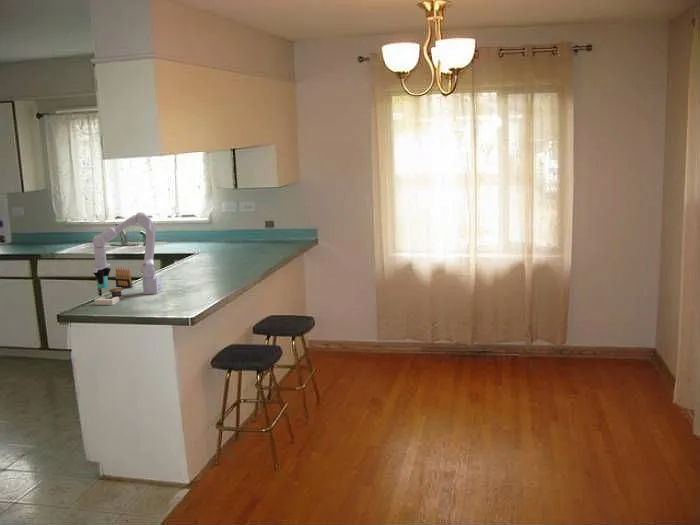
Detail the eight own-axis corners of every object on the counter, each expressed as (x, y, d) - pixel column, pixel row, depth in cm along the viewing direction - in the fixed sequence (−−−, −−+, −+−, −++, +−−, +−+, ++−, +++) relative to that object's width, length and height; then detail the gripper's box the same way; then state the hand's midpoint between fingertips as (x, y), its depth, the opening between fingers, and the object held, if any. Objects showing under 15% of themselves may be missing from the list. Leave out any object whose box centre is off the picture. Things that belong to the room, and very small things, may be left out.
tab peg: (108, 286, 374) (107, 275, 373) (104, 288, 370) (103, 277, 369) (101, 286, 375) (100, 275, 374) (98, 288, 371) (96, 277, 370)
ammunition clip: (116, 287, 400) (113, 266, 397) (118, 286, 401) (116, 266, 399) (130, 288, 395) (128, 267, 393) (132, 287, 397) (130, 267, 394)
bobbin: (126, 296, 375) (125, 288, 374) (119, 299, 368) (118, 291, 367) (114, 296, 376) (113, 287, 375) (107, 299, 370) (106, 291, 369)
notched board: (119, 301, 365) (118, 296, 365) (112, 304, 358) (112, 300, 358) (102, 301, 367) (101, 296, 367) (95, 304, 360) (94, 300, 360)
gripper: (100, 255, 377) (103, 279, 380) (86, 260, 363) (89, 286, 366) (112, 255, 376) (115, 279, 378) (98, 260, 362) (101, 286, 364)
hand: (103, 282), depth 372 cm, fingers closed on tab peg, 4 cm apart
